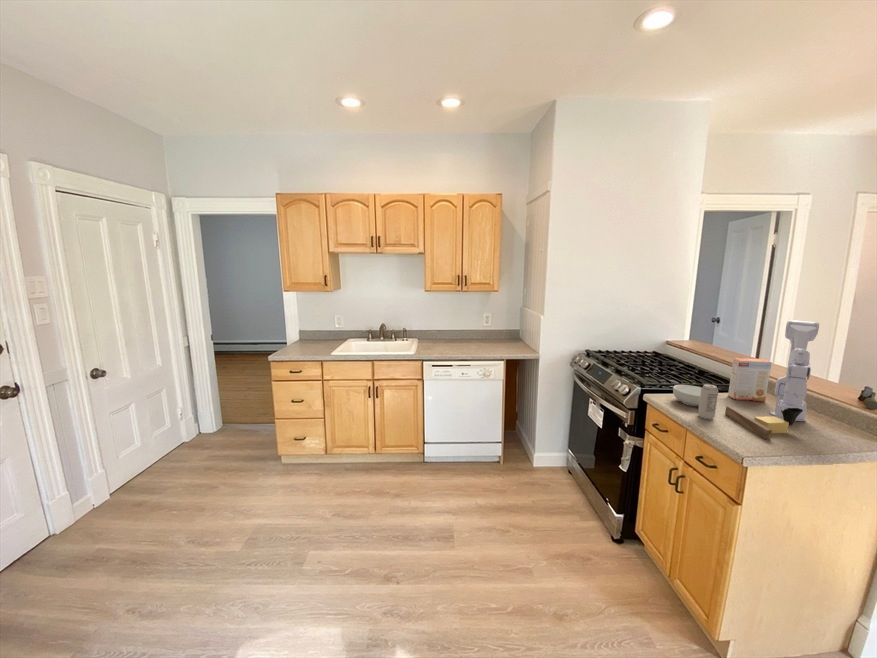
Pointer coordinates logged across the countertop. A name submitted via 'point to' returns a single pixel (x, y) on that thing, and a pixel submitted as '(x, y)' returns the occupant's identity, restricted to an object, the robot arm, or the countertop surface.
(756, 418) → the ochre block
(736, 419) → the walnut board
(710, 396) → the energy drink can
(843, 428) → the countertop surface
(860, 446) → the countertop surface
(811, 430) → the countertop surface
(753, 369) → the cracker box
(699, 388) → the cereal bowl
